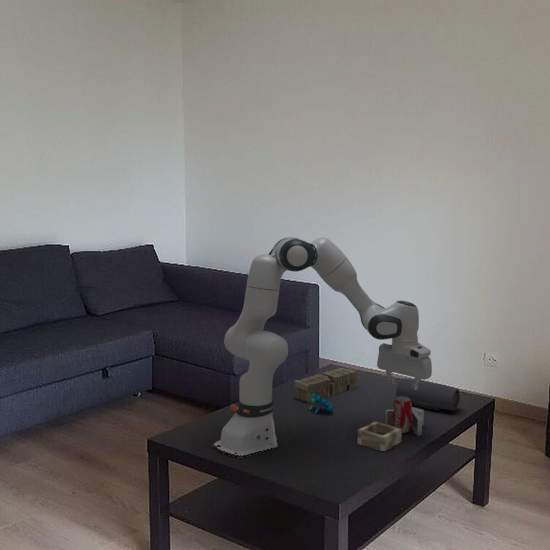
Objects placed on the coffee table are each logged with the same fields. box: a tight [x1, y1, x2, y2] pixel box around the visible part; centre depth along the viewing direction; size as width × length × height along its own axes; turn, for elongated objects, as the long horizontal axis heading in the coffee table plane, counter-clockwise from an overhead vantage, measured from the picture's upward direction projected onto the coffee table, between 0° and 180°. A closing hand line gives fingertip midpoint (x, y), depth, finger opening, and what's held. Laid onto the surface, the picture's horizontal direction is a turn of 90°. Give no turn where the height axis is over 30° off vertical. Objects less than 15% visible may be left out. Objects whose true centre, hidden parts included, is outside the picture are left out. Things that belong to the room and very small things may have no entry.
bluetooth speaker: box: [395, 378, 461, 411], centre depth 280 cm, size 23×9×10 cm, turn 57°
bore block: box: [357, 420, 403, 452], centre depth 246 cm, size 11×11×5 cm
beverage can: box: [393, 396, 413, 434], centre depth 256 cm, size 6×6×12 cm
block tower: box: [294, 367, 358, 404], centre depth 296 cm, size 8×8×29 cm
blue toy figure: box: [309, 394, 335, 414], centre depth 275 cm, size 11×6×10 cm
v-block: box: [384, 406, 425, 436], centre depth 259 cm, size 10×15×6 cm, turn 48°
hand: (402, 386), depth 253 cm, fingers open, 8 cm apart
